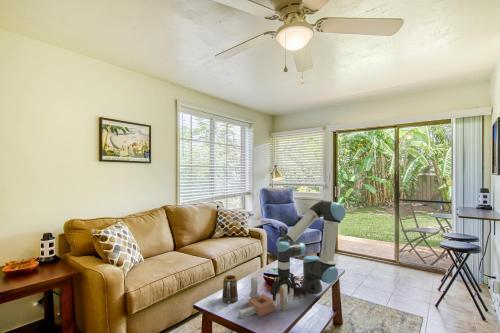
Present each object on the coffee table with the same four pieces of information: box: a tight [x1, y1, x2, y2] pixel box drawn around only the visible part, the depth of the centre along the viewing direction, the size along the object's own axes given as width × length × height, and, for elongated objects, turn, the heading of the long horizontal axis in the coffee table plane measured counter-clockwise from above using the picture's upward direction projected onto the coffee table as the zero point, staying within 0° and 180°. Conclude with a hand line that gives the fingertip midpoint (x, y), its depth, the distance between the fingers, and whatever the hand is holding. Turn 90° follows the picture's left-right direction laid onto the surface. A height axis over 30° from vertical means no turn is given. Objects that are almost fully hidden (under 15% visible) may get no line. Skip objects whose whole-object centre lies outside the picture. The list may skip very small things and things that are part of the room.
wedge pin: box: [279, 283, 288, 313], centre depth 159 cm, size 4×3×15 cm
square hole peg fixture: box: [238, 276, 277, 319], centre depth 160 cm, size 22×17×16 cm
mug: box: [221, 274, 239, 305], centre depth 169 cm, size 16×11×15 cm
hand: (283, 302), depth 159 cm, fingers open, 13 cm apart
